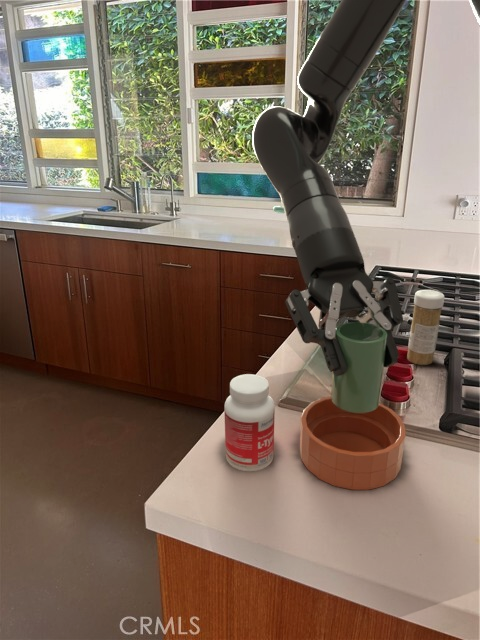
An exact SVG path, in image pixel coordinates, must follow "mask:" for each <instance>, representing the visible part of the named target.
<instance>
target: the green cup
mask: <svg viewBox="0 0 480 640" xmlns="http://www.w3.org/2000/svg"><path fill="white" fill-rule="evenodd" d="M334 338H335V339H338V341H339V343H340V347H341V350H342V353H343V356H344V359H345V362H346V365H347V372H345V373H344V374H343V375H339V376H335V375H334V372H333V371H332V376H331V377H332V378H331V390H330V391H331V393H330V396H331V400H332V402H333V403H334V404H335V405H336V406H337V407H338V408H340V409H342V410H345V411H348V412H352V413H367V412H371V411H373V410H375V409H377V408H378V406H379V404H380V403H381V397H382V396H381V394H382V388H383V387H382V386H383V378H384V369H385V367H384V361H385V352H386V343H387V332H386V331H385V330H384V329H383V328H381V327H379V326H377V325H374V324H370V323H363V322H359V321H351V322H344V323H342V324H339V325H338V326H336V334H335V337H334Z"/></svg>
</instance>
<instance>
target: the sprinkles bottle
mask: <svg viewBox="0 0 480 640" xmlns="http://www.w3.org/2000/svg"><path fill="white" fill-rule="evenodd" d="M413 299H414V300H413V304H414V305H413V306H414V307H413V312H412V313H413V314H412V319H411V320H412V321H411V325H410V331H409V338H408V345H407V347H408V349H407V355H406V359H407V361H409V362H410V363H412V364H415V365H420V366H428V365H431V364H432V363H433V362H434V355H435V351H436V347H437V341H438V336H439V328H440V321H441V320H440V319H441V313H442V309H443V307H444V303H445V294H443V292H440V291H438V290H433V289H419V290H417V291H415V293H414V298H413Z"/></svg>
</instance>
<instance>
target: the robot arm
mask: <svg viewBox="0 0 480 640" xmlns="http://www.w3.org/2000/svg"><path fill="white" fill-rule="evenodd" d="M468 1H469V4H470V6H471V9H472V12H473V14H474V16H475V18H476V19H475V20H476V22H477V24H478V26H479V27H480V0H468ZM406 2H407V0H341V1H340V2H339V4H338V6H337V7H336V9H335V11H334V12H333V13H332V16H331V17H330V19H329V21H328V22H327V24H326V26H325V27H324V29H323V31H322V32H321V34H320V35H319V37H318V39H317V41H316V43H315V45H314V46H313V48H312V50H311V51H310V53H309V55H308V56H307V58H306V60H305V62H304V64H303V65H302V67H301V69H300V71H299V73H298V76H297V81H296V82H297V85H298V88H299V89H300V91H301V92H302V93H303V94H304V95H305V96H306V97H307V99H308V100H307V106H306V109H305V111H304V114H303V115H301V114H299V113H297V112H295V111H293V110H291V109H290V108H287V107H284V106H271V107H268V108H266V109H265V110H264V111H263V112H261V114H259V116H258V117H257V118H256V121H255V124H254V126H253V130H252V148H253V150H254V154H255V156H256V158H257V161H258V163H259V165H260V166H261V169H262V170H263V172H264V173H265V175H266V177H267V178H268V179H269V181H270V183H271V185H272V186H273V187H274V189H275V190H276V192H277V193H278V195H279V197H280V200H281V204H282V207H283V208H284V211H285V213H284V215H285V218H286V221H287V224H288V230H289V236H290V239H291V243H292V244H291V245H292V248H293V249H294V252H295V255H296V259H297V262H298V265H299V269H300V272H301V275H302V278H303V281H304V283H305V284H306V285H305V286H306V288H305V289H303V290H299V289H293V290H292V291H291V292H290V294H289V295H288V297H287V298H286V300H285V303H284V304H285V306H286V308H287V310H288V313H289V315H290V317H291V318H292V321H293V323H294V325H295V327H296V329H297V331H298V333H299V335H300V338H301V341H302V342H304V343H305V344H310V343H311V344H312V343H313V344H317V345H319V347H320V348H321V350H322V354H323V357H324V360H325V364H326V366H327V369H328V370H329V372H330V373H331V372H332V373H333V372H334V375H335V376H339V375H343V374H344V373H345V372H347V365H346V362H345V359H344V356H343V353H342V350H341V347H340V343H339V341H338V339H335V334H336V328H337V324H338V321H339V320H341V319H342V318H356V320H357V322H363V323H370V324H374V325H377V326H379V327H381V328H383V329H384V330H385V331H386V332H387V343H386V352H385V361H384V368H390V367H392V366H394V365H395V364H397V363H398V358H399V357H400V352H399V350H398V347H397V345H396V342H395V338H394V336H393V332H392V330H393V329H395V328H396V327H397V326H398V325H400V324H401V323H402V322H403V321H404V316H403V312H402V308H401V302H400V298H399V294H398V290H397V284H396V281H395V279H394V278H392V277H387V278H386V279H385V280H384V281H383V280H381V281H380V280H373V279H372V278H371V277H370V276H369V275H368V274H367V272H366V267H365V259H364V257H363V255H362V252H361V249H360V246H359V243H358V241H357V238H356V235H355V232H354V230H353V227H352V225H351V222H350V219H349V217H348V214H347V213H346V210H345V209H344V207H343V205H342V203H341V201H340V198H339V196H338V193H337V190H336V187H335V185H334V182H333V179H332V177H331V174H330V173H329V172H328V170H327V169H326V167H324V166H323V165H321V164H320V163H321V161H322V160H323V158H324V157H325V155H326V154H327V152H328V150H329V147H330V145H331V143H332V140H333V137H334V135H335V131H336V129H337V126H338V123H339V121H340V118H341V115H342V112H343V110H344V107H345V104H346V101H347V100H348V98H349V97H350V96H351V94H352V91H354V89H355V88H356V86H357V84H358V83H359V81H360V80H361V78H362V76H363V75H364V74H365V73H366V71H367V69H368V68H369V66H370V65H371V62H372V61H374V58H375V56H376V55H377V53H378V51H379V50H380V48H381V46H382V44H383V42H384V41H385V40H386V38H387V36H388V34H389V32H390V30H391V28H393V25H394V23H395V21H396V19H398V18H397V17H398V16H399V14H400V12H401V10H402V9H403V7H404V5H405V3H406ZM372 293H373V294H374V296H375V299H374V297H373V296H372ZM376 300H378V302H377V301H376ZM310 303H311V304H312V305H313V306H314V307H316V308H317V309H318V310H320V312H319V317H318V324H317V323H316V321H315V318H314V316H313V314H312V313H311V310H310V308H309V305H310ZM365 310H367V312H366V311H365Z"/></svg>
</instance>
